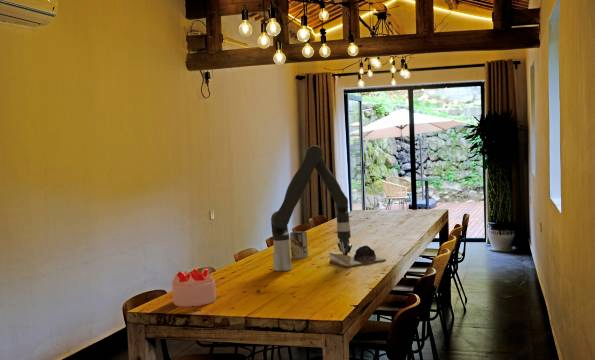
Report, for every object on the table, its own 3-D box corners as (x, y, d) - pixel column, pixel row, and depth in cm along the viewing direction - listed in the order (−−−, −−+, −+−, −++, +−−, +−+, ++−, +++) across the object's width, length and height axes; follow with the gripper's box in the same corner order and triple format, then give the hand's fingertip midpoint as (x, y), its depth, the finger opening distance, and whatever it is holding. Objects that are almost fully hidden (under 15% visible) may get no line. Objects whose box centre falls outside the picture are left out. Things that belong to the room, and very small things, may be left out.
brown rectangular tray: (366, 256, 367) (365, 246, 367) (385, 260, 349) (385, 250, 349) (329, 262, 355) (328, 252, 355) (347, 267, 338) (346, 256, 337)
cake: (218, 295, 293) (216, 266, 292) (213, 305, 273) (211, 274, 272) (177, 298, 292) (175, 269, 292) (170, 309, 272) (167, 277, 272)
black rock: (360, 259, 363) (357, 243, 363) (381, 258, 356) (378, 241, 356) (351, 265, 352) (348, 248, 351) (372, 264, 345) (369, 247, 344)
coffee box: (308, 256, 382) (307, 231, 381) (304, 258, 377) (302, 232, 376) (295, 256, 386) (294, 231, 386) (291, 258, 381) (289, 232, 380)
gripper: (332, 229, 352) (334, 259, 353) (344, 231, 340) (346, 262, 341) (343, 228, 356) (345, 257, 356) (355, 230, 344) (357, 260, 345)
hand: (345, 259), depth 349 cm, fingers closed
